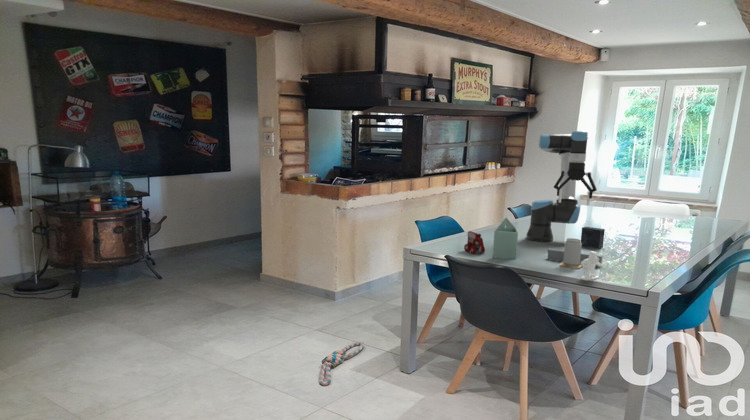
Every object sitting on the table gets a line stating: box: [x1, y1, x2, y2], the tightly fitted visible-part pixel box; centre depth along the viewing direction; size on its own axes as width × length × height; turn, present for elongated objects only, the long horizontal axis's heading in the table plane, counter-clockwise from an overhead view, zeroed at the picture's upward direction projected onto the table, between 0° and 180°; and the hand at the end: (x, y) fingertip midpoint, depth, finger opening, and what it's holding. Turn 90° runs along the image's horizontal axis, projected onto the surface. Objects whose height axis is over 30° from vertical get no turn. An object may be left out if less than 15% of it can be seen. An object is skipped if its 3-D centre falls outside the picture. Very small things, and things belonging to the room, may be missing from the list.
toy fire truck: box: [463, 230, 486, 255], centre depth 253 cm, size 7×12×10 cm, turn 24°
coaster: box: [559, 261, 583, 270], centre depth 232 cm, size 9×9×1 cm
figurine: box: [580, 250, 606, 281], centre depth 210 cm, size 9×7×12 cm
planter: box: [492, 217, 519, 260], centre depth 244 cm, size 16×8×20 cm, turn 126°
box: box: [580, 226, 606, 250], centre depth 273 cm, size 11×7×10 cm, turn 47°
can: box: [563, 237, 583, 266], centre depth 231 cm, size 8×8×12 cm
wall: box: [546, 247, 604, 268], centre depth 238 cm, size 24×4×5 cm, turn 59°
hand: (573, 203), depth 250 cm, fingers open, 13 cm apart
